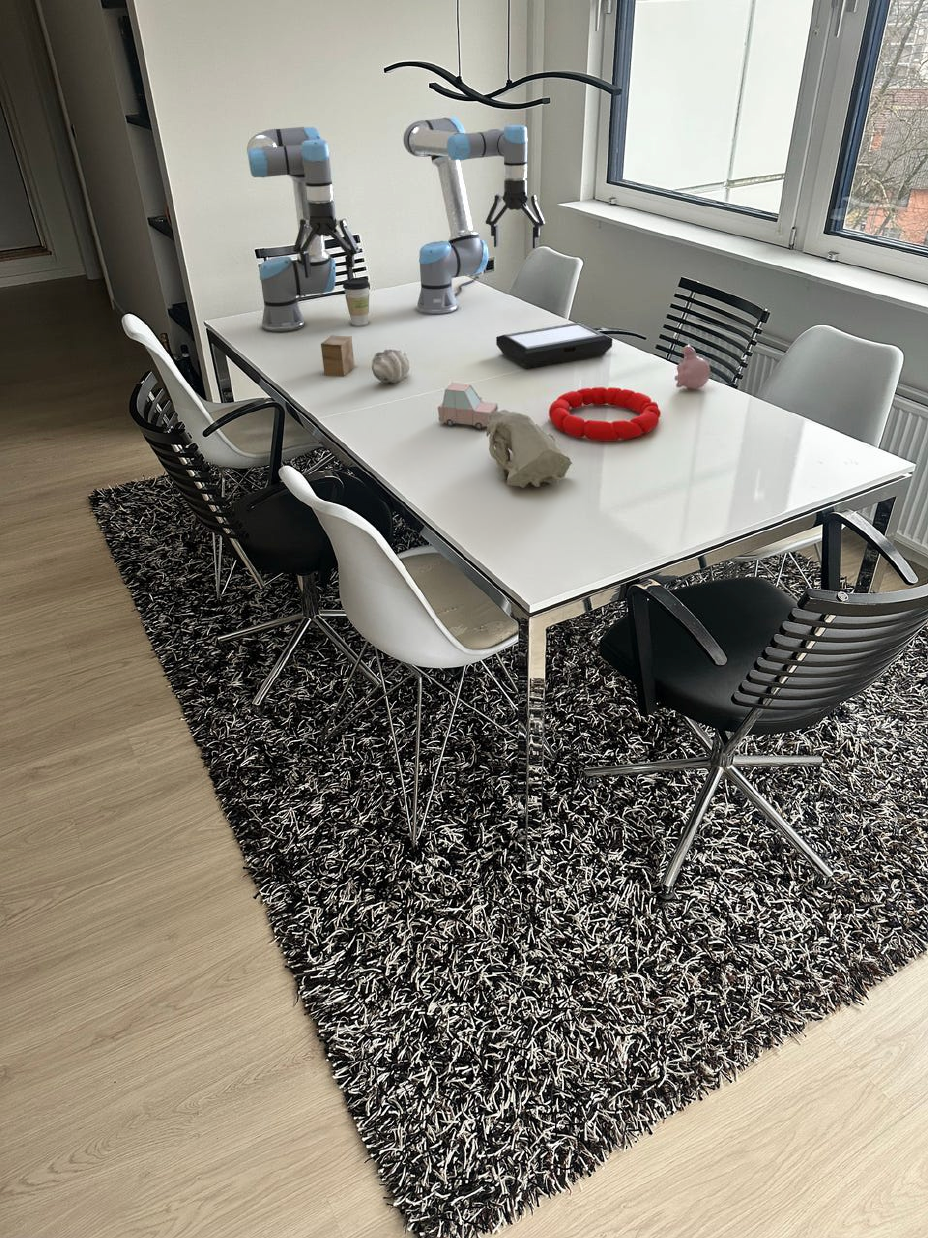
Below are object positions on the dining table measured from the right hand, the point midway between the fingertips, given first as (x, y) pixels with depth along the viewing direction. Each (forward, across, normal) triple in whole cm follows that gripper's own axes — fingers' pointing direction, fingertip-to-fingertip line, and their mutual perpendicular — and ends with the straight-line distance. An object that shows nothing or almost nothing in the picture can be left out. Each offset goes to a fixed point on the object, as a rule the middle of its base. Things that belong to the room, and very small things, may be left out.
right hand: (515, 246), depth 306 cm
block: (+26, +44, +60) cm, 78 cm away
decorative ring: (+26, -45, +84) cm, 99 cm away
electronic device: (+26, -20, +31) cm, 45 cm away
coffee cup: (+26, +56, +10) cm, 63 cm away
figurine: (+26, -66, +54) cm, 89 cm away
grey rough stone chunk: (+26, -30, +119) cm, 125 cm away
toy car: (+26, -9, +93) cm, 97 cm away
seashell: (+26, +23, +66) cm, 75 cm away
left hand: (-2, +44, +60) cm, 74 cm away
